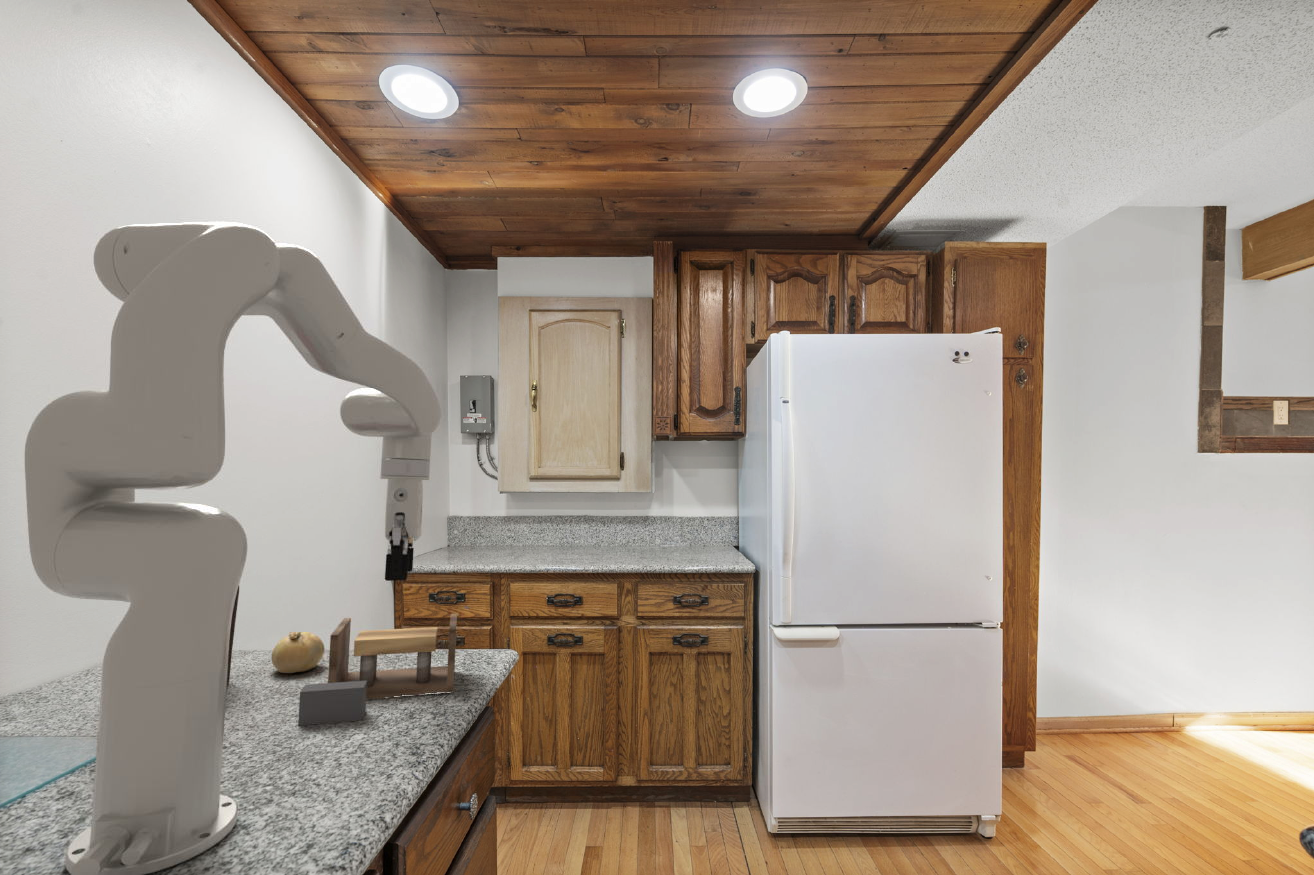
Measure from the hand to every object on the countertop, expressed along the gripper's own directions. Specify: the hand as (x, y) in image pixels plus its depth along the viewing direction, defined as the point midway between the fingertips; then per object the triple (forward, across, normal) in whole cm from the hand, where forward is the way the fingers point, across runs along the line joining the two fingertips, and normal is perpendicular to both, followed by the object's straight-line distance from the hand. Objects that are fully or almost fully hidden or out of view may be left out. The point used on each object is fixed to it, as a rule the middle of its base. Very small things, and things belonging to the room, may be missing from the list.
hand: (399, 575), depth 101 cm
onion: (+18, +13, +17) cm, 28 cm away
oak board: (+12, +1, 0) cm, 12 cm away
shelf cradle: (+18, +1, 0) cm, 18 cm away
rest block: (+18, -11, +7) cm, 22 cm away
